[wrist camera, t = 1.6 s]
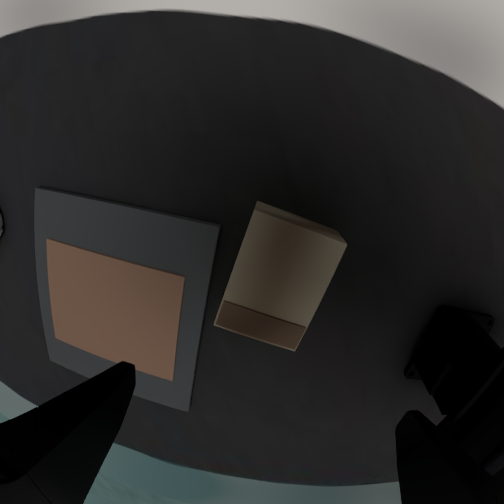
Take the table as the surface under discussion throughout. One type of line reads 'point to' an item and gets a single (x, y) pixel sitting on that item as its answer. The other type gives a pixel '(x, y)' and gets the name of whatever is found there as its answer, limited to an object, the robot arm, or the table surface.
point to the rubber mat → (123, 289)
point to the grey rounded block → (1, 224)
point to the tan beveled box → (279, 276)
